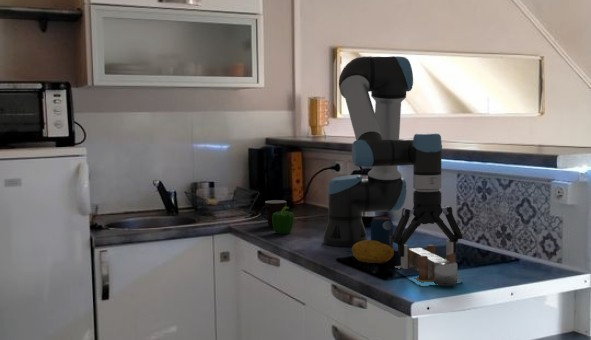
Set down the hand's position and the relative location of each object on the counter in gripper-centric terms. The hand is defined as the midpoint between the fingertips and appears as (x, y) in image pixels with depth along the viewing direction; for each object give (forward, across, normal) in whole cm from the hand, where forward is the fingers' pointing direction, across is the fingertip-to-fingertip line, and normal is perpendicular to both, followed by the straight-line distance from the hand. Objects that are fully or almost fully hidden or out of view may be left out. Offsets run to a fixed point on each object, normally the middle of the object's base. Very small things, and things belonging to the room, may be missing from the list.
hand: (427, 266), depth 177 cm
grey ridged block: (+2, 0, -3) cm, 3 cm away
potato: (+3, -9, +19) cm, 21 cm away
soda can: (+3, -2, +29) cm, 29 cm away
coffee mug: (+3, -25, +90) cm, 93 cm away
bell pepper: (+3, -24, +75) cm, 79 cm away
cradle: (+3, 0, 0) cm, 3 cm away
